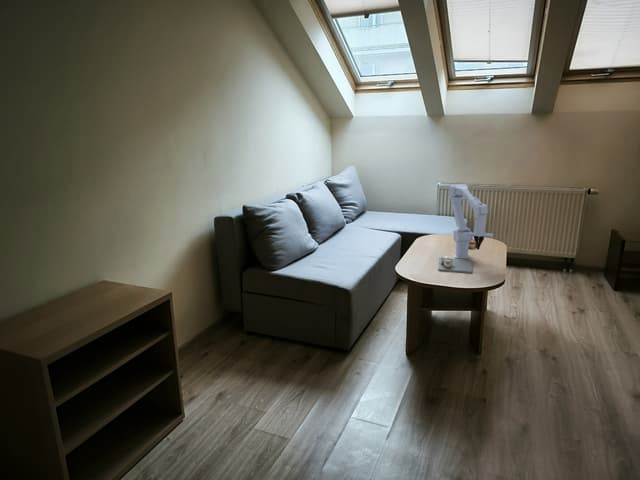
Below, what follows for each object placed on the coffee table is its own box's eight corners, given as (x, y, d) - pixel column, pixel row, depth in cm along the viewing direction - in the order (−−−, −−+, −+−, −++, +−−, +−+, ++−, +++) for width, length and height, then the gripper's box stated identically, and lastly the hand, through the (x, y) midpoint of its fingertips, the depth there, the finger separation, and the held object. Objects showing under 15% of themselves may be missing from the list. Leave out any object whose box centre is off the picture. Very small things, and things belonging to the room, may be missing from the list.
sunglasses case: (474, 250, 285) (469, 240, 285) (464, 254, 289) (459, 244, 289) (481, 243, 300) (476, 234, 300) (471, 247, 304) (466, 238, 304)
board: (439, 259, 269) (439, 257, 269) (470, 261, 264) (470, 259, 264) (438, 270, 249) (438, 269, 249) (472, 273, 245) (472, 271, 244)
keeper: (440, 263, 258) (441, 256, 257) (452, 264, 257) (452, 257, 256) (440, 264, 256) (440, 257, 255) (452, 265, 254) (452, 258, 253)
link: (451, 268, 249) (451, 263, 249) (444, 267, 250) (444, 263, 250) (451, 258, 266) (451, 254, 265) (444, 258, 267) (445, 253, 266)
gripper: (466, 226, 251) (464, 250, 254) (494, 228, 247) (491, 251, 251) (466, 223, 257) (464, 246, 261) (493, 225, 253) (490, 248, 257)
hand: (477, 249), depth 256 cm, fingers closed
